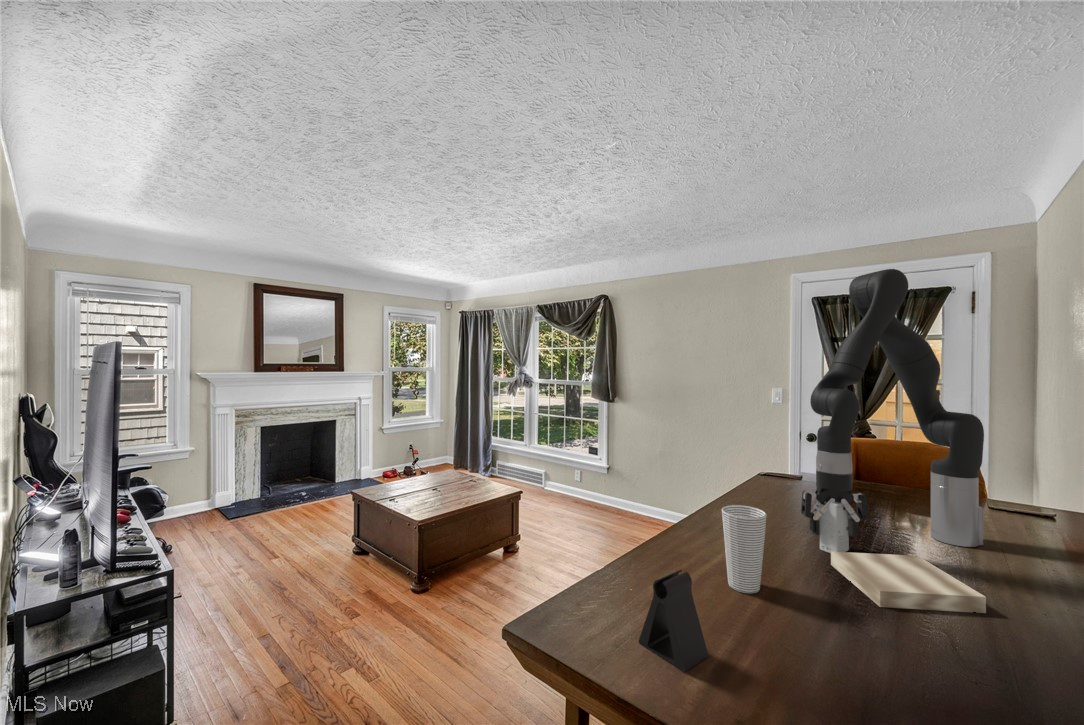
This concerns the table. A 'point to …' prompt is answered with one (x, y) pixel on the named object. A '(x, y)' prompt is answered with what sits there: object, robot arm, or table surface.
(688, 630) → the phone stand
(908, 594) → the base block
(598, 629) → the table surface
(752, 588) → the cup
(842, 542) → the skincare box
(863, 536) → the table surface
